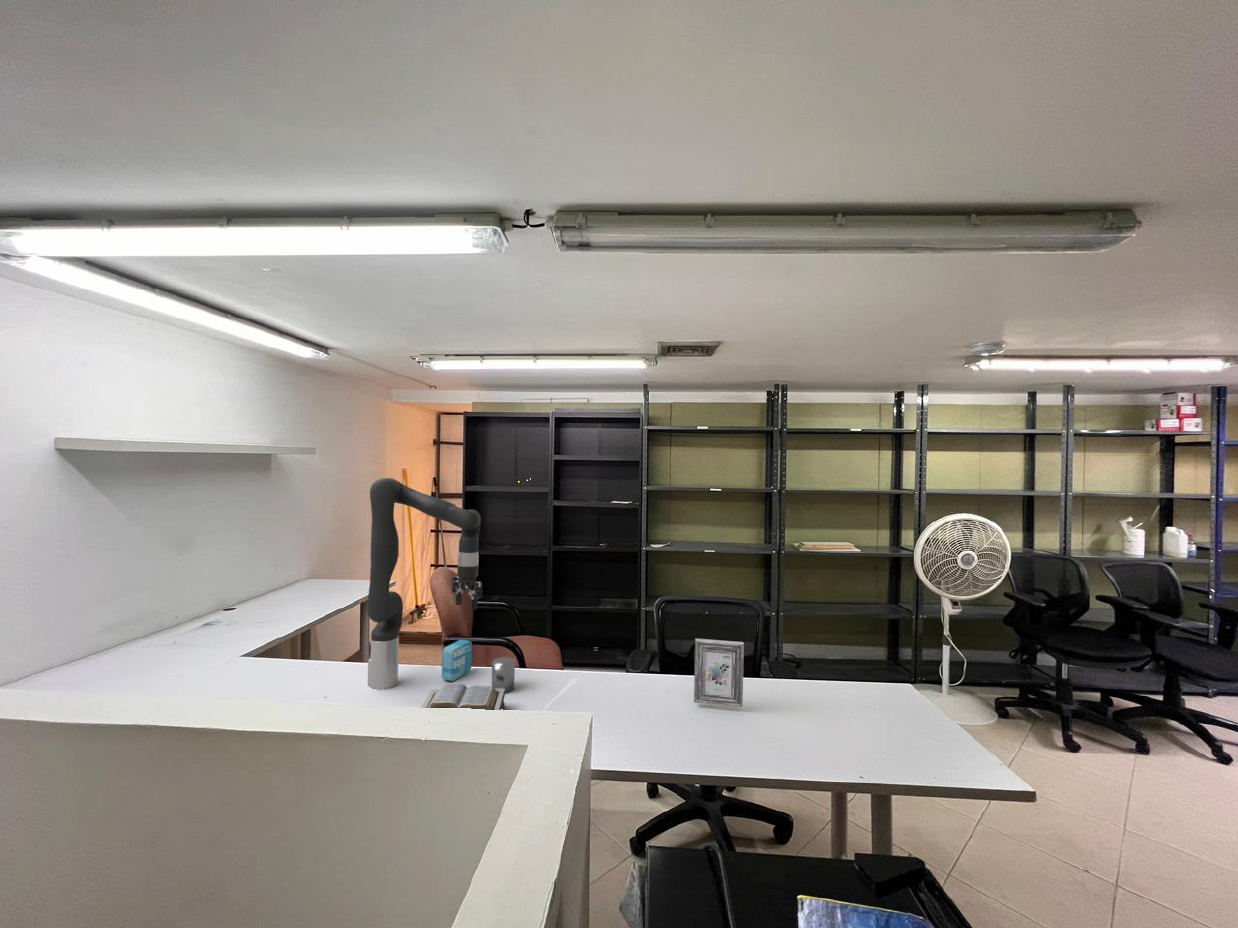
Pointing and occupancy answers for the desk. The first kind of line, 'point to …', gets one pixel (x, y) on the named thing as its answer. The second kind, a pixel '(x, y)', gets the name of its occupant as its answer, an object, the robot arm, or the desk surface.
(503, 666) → the grey domed cylinder
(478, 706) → the bible
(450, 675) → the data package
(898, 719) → the desk surface
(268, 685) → the desk surface
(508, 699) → the desk surface
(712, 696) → the picture frame
